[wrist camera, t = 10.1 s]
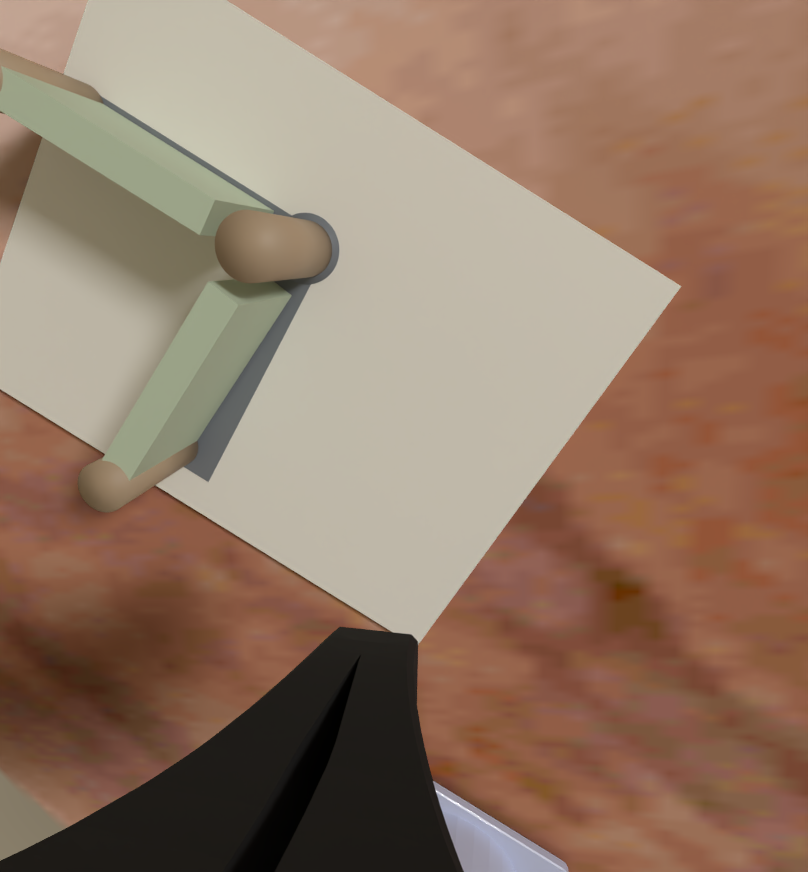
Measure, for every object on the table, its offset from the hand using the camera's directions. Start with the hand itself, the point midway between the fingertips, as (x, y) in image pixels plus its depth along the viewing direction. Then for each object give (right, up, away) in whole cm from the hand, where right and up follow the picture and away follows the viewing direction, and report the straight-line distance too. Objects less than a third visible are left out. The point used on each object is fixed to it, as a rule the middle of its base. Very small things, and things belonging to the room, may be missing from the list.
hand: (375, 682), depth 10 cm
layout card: (-3, +7, +9) cm, 12 cm away
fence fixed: (-6, +12, +8) cm, 15 cm away
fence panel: (-5, +6, +9) cm, 12 cm away
